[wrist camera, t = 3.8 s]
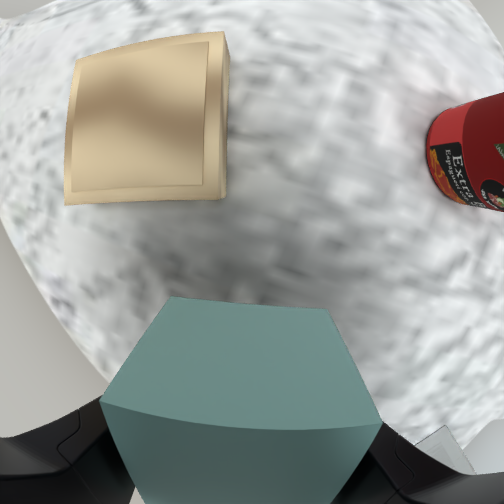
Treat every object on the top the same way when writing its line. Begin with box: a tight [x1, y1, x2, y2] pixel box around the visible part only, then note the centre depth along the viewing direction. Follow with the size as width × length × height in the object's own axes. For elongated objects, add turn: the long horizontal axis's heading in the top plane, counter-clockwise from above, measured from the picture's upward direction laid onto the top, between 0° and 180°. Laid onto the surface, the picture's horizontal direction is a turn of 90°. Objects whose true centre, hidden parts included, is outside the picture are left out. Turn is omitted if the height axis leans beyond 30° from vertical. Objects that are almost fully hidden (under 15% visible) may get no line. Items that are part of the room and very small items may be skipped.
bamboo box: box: [64, 31, 230, 206], centre depth 15 cm, size 10×10×4 cm
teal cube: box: [99, 296, 383, 504], centre depth 7 cm, size 5×5×5 cm
